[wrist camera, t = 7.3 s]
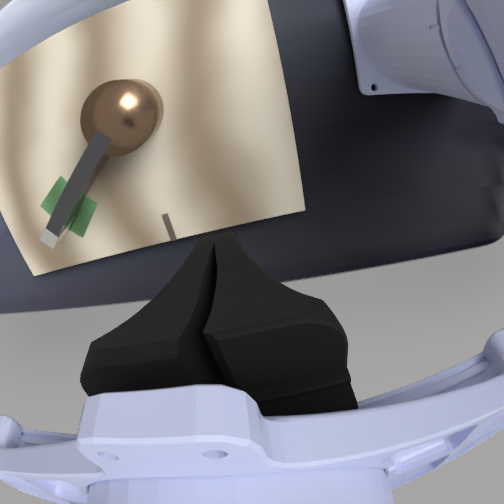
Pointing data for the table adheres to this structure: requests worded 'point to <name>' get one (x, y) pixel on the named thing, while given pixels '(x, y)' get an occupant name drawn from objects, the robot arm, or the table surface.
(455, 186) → the table surface
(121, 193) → the board
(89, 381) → the robot arm
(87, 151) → the bronze ball with handle
